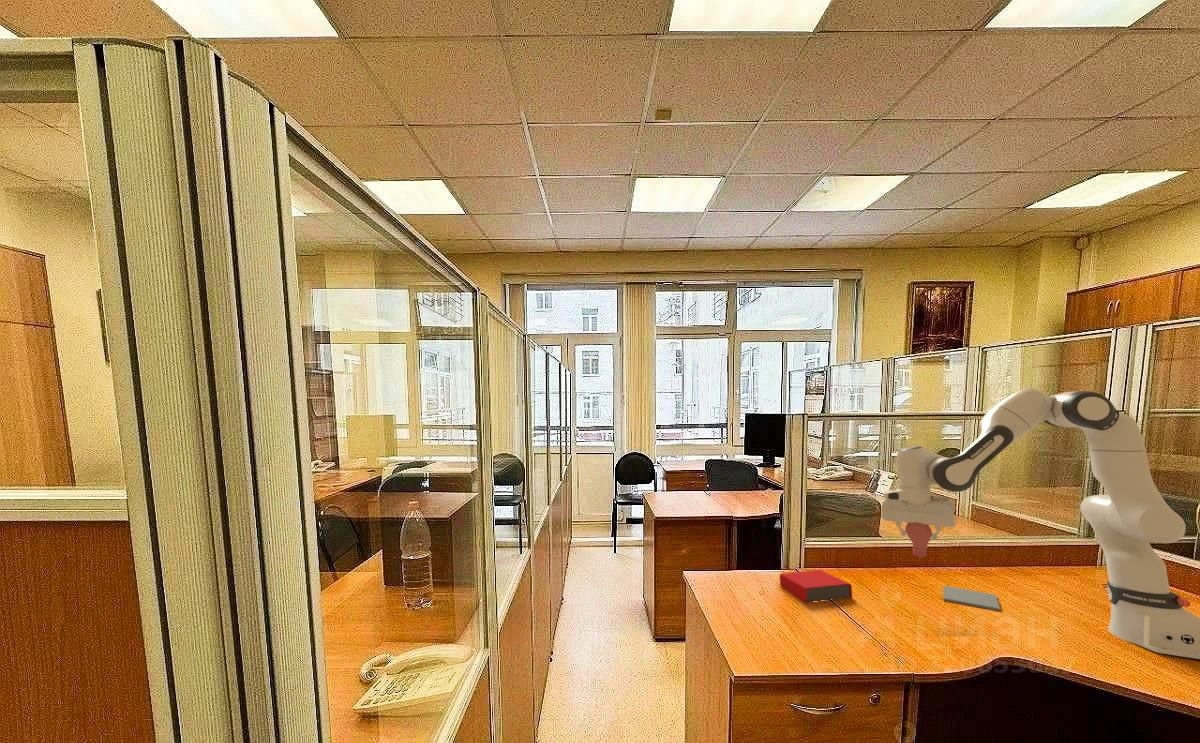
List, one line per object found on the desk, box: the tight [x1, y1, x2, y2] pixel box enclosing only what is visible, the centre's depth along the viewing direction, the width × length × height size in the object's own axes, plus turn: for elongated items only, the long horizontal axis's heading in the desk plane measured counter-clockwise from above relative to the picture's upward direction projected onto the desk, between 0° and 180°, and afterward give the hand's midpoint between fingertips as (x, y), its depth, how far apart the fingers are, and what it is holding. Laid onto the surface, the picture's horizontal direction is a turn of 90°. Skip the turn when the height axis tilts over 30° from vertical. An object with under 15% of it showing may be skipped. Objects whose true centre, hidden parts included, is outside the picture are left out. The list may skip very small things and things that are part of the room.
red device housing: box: [779, 569, 853, 604], centre depth 154 cm, size 18×14×5 cm
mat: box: [942, 585, 1001, 612], centre depth 147 cm, size 14×14×1 cm
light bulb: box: [905, 522, 933, 558], centre depth 146 cm, size 7×7×12 cm
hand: (919, 537), depth 146 cm, fingers closed on light bulb, 7 cm apart
